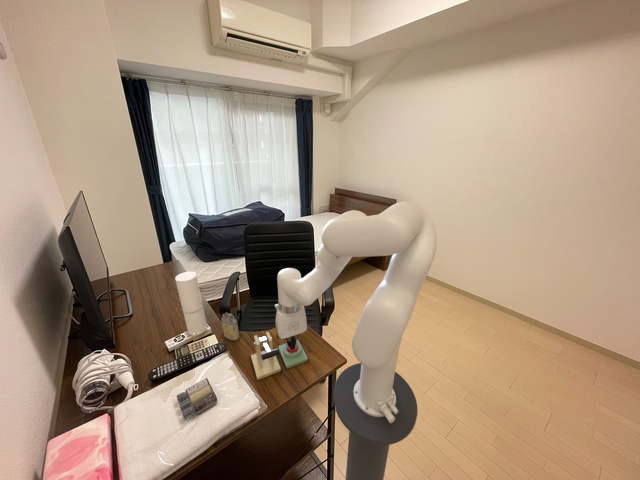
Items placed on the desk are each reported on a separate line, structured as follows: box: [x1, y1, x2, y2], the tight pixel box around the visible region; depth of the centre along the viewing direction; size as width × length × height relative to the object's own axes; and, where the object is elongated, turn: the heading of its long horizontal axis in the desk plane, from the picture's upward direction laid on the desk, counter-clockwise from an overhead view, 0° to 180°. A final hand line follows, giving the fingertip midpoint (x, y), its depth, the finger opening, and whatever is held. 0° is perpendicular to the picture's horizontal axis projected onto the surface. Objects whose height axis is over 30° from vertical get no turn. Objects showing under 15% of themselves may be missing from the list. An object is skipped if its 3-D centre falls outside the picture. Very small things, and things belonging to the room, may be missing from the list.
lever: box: [258, 335, 280, 360], centre depth 80 cm, size 12×5×2 cm, turn 25°
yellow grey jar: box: [221, 312, 240, 342], centre depth 98 cm, size 7×4×10 cm, turn 61°
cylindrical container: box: [174, 271, 208, 336], centre depth 99 cm, size 7×7×25 cm
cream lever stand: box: [250, 331, 282, 381], centre depth 85 cm, size 10×8×12 cm
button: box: [287, 345, 297, 353], centre depth 91 cm, size 4×4×2 cm
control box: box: [277, 339, 309, 369], centre depth 91 cm, size 10×8×3 cm
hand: (291, 346), depth 90 cm, fingers closed
